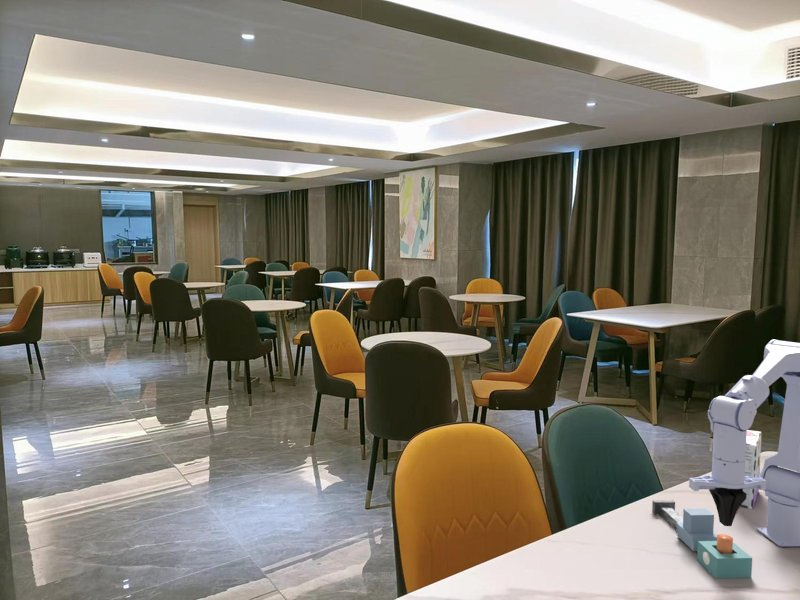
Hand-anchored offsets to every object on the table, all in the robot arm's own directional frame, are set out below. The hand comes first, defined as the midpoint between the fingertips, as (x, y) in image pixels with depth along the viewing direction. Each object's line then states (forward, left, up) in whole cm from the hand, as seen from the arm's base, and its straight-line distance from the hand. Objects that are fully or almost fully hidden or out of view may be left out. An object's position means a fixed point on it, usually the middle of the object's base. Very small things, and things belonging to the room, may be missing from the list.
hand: (725, 524), depth 120 cm
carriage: (0, -10, -9) cm, 14 cm away
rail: (0, -15, -9) cm, 18 cm away
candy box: (-25, -34, -10) cm, 43 cm away
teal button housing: (0, 0, -9) cm, 9 cm away
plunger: (0, 0, -7) cm, 7 cm away
